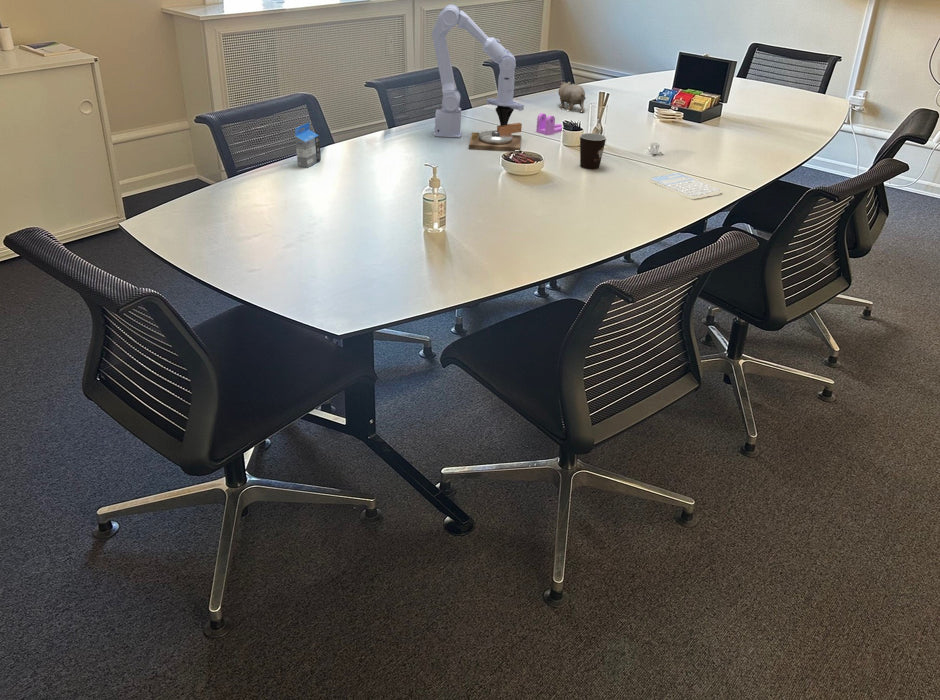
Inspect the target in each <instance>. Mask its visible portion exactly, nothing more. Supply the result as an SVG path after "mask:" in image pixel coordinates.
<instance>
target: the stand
mask: <svg viewBox="0 0 940 700" xmlns="http://www.w3.org/2000/svg"><path fill="white" fill-rule="evenodd" d="M480 133H481V132H472V133H471V136H470V138H469V139H470V140H469V143H468V150H481V151H496V152H511V151H515V150H520V151H521V144H522V142H521V140H522V135H518V134H512V136H513V138H512V142H510V143H507V144H489V143H485V142H482V141H480V140H479V134H480Z"/></svg>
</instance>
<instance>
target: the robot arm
mask: <svg viewBox="0 0 940 700" xmlns="http://www.w3.org/2000/svg"><path fill="white" fill-rule="evenodd" d="M440 11H441V12H440V13H439V15H438V16H437V18H436V22H435V23H434V26H433V28H432V31H431V37H432V44H433V48H434V52H435V53H434V54H435V57H436V62H437V68H438V72H439V77H440V78H439V79H440V81H441V91H442V100H441V105H442V106H441V109H436V110H435V117H434V118H435V119H434V136H435V137H442V138H444V137H445V138H457V139H458V138H459V139H460V138H461V137H462V134H463V130H461V129H462V128H461V127H462V126H461V125H462V124H461V123H462V120H461V119H462V107H460V105H461V104H460V103H461V99H462V96H461V93H460V91H459V90H458V89H457V85H456V82H455V77H454V76H455V75H454V72H453V67H452V61H451V56H450V51H449V46H448V41H447V40H448V39H447V35H448V33H449V32H450V30H451V29H453V28H454V27H455V26H456V25H457V27H456V28H457V29H462V30H463V29H464V30H466V31H467V32H468V33H469V34H470V35H471V36H472V37H473V38H475V39H476V40H477V42H479V43H480V44H481V45H482V52H484V53H485V55H487V57H489V58H490V59H491V60H492V61H493V62H494V63H495V64H498V68H499V74H498V79H497V81H498V82H497V83H498V84H497V97H496V98H491V97H490V98H489V97H488V98H487V99H486V105H489V106H490V105H491V106H496V107H495V112H496V114H497V116H498V119H499V126H500V125H507V124H508V123H509V120H510V118H511V115H512V113H513V112H514V111H515V110H517V111H519V112H522V111H524V107H525V104H522V103H520V102H517V101H514V94H515V93H514V92H515V71H516V70H515V69H516V67H517V64H516V58H515V55H514V54H513V53H512V52H510V50H509V49H506V48H505V47H504V45H502V44H501V43H500V42H501V41H500V39H499V38H495V37H490V36H488V35H487V34H486V33H485V32H484V31H483V30H482V29H481V28H480V27H479V25H477V24H476V23H475V21H474V20H473V19H472V18H471V17H470V16H469V15H468V14H467V13H466V12H465V11H463V10H462V9H461V10H460V8H459V7H458V6H457V5H456V4H451V3H449V4H447V5H445V7H444V8H443V9H442V10H440Z"/></svg>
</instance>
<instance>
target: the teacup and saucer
mask: <svg viewBox="0 0 940 700" xmlns="http://www.w3.org/2000/svg"><path fill="white" fill-rule="evenodd" d="M659 149H660V143H658V142H651V143H650V145H649V146H648V147H647V149H646V150H647V151H649V153H650V155H652V154H656V155H657V154H658V151H659Z"/></svg>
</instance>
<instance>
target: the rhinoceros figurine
mask: <svg viewBox="0 0 940 700" xmlns="http://www.w3.org/2000/svg"><path fill="white" fill-rule="evenodd" d="M560 83H561V84H560V85H559V88H558V91H557V93H558V96H559V100H560V105H559V107H560V109H562V108H563V109H564V108H565V103H566V104H568V105H569V106H567V108H566V110H571V111H572V110H573V109H574V107H575V105H579V106H580V110H579V112H581V111H582V112H584V113H585V110H584V105H585V104H584V103H585V100H586V92H585V90H584V88H583V87H582V86H580V85H578V84H575V83H571V81H567V82H565V81H564V82H562V81H560ZM566 110H565V111H566ZM582 112H581V113H582Z"/></svg>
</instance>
